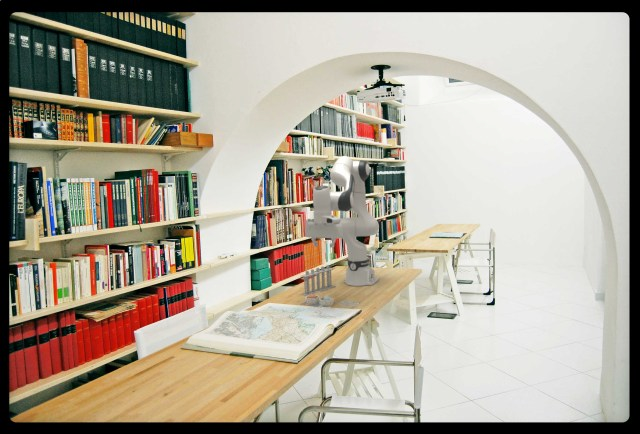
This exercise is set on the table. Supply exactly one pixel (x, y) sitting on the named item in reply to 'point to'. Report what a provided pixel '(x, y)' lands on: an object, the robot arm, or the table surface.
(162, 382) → the table surface
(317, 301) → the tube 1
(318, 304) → the card
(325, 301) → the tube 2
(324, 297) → the ball bluegrey
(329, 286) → the test tube rack
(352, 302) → the grey mat
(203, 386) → the table surface
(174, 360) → the table surface
